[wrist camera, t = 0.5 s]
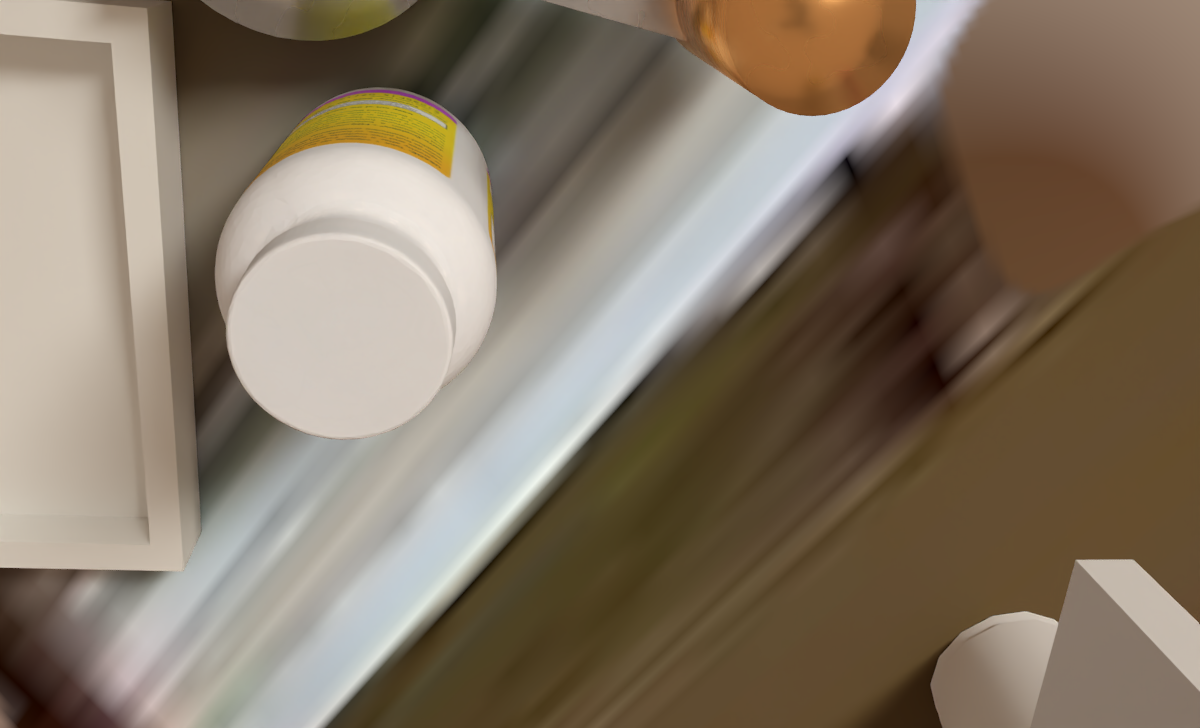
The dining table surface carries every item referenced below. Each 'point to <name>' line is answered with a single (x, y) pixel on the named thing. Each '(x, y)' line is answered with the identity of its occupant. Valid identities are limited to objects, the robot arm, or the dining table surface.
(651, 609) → the dining table surface
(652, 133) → the dining table surface
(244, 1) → the crank base
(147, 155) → the tray
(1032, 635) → the foam cup
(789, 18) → the crank lever
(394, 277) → the supplement bottle
